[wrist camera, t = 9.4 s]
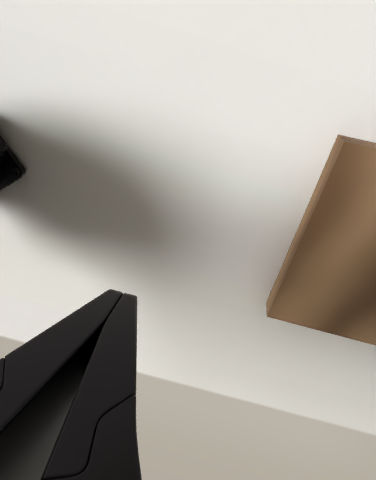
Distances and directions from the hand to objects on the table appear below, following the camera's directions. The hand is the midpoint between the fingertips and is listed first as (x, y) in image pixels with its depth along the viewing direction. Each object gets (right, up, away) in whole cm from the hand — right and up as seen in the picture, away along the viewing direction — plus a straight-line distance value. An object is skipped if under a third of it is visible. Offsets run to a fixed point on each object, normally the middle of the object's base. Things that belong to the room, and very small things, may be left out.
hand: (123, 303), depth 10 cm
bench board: (+14, +1, +12) cm, 19 cm away
